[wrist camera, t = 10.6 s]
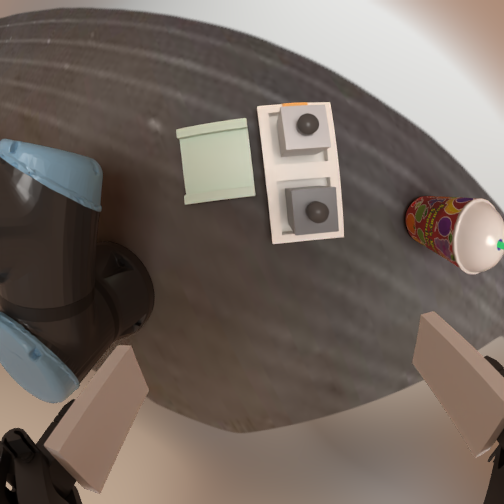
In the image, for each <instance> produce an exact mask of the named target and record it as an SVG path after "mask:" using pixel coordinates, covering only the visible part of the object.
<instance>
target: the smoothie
mask: <svg viewBox="0 0 504 504" xmlns="http://www.w3.org/2000/svg"><path fill="white" fill-rule="evenodd" d="M405 220H406V226H407V229H408V231H409V234H410V236H411V237H412V238H413V239H414V240H416V241H417V242H419V243H421V244H422V245H424V246H426V247H427V248H429V249H431V250H432V251H434V252H435V253H437V254H439V255H440V256H442V257H443V258H445V259H447V260H448V261H450V262H451V263H453V264H454V265H456V266H457V267H459V268H460V269H461V270H463V271H464V272H466V273H467V274H477V273H480V272H483V271H486V270H488V269H491V268H493V267H494V266H495V265H496V264H497V263H498V262H499V261H500V259H501V258H502V256H503V254H504V221H503V219H502V217H501V216H500V214H499V213H498V212H497V211H496V210H495V208H494V206H493V205H492V204H491V203H490V202H489V201H488V200H485V199H482V198H478V199H475V198H458V197H435V196H423V197H419V198H418V199H416V200H415V201H414V202H413V203H411V205H410V206H409V208H408V210H407V212H406V219H405Z"/></svg>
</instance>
